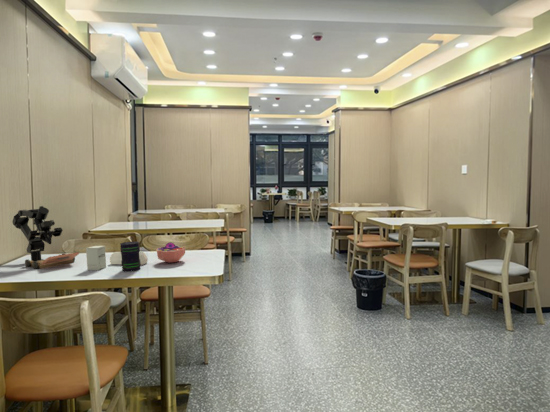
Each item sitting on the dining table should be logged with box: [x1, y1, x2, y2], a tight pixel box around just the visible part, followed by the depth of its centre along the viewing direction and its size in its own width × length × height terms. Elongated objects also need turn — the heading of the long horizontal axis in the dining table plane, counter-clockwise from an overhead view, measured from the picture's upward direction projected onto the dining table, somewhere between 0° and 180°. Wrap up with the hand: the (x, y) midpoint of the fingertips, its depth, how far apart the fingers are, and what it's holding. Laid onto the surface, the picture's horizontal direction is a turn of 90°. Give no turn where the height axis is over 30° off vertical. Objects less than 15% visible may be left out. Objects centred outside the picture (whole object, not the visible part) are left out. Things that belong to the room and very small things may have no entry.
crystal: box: [109, 251, 149, 266], centre depth 247 cm, size 7×7×24 cm
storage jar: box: [119, 241, 142, 273], centre depth 229 cm, size 10×10×15 cm
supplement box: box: [85, 245, 107, 271], centre depth 235 cm, size 7×7×13 cm
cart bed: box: [24, 252, 76, 270], centre depth 255 cm, size 18×23×4 cm
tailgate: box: [42, 251, 80, 265], centre depth 246 cm, size 2×17×11 cm
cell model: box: [155, 242, 186, 264], centre depth 246 cm, size 17×20×11 cm
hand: (50, 243), depth 253 cm, fingers closed
